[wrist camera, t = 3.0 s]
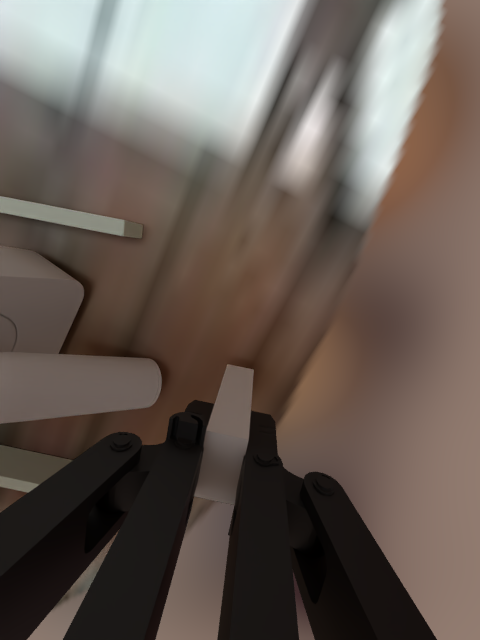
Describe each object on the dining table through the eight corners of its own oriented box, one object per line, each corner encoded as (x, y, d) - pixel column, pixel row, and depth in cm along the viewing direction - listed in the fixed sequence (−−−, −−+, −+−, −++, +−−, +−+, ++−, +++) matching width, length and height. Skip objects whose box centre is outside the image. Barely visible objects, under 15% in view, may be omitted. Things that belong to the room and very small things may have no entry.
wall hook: (140, 440, 20) (-26, 573, 11) (31, 354, 22) (-193, 401, 13) (197, 339, 19) (60, 389, 9) (74, 255, 20) (-149, 222, 11)
